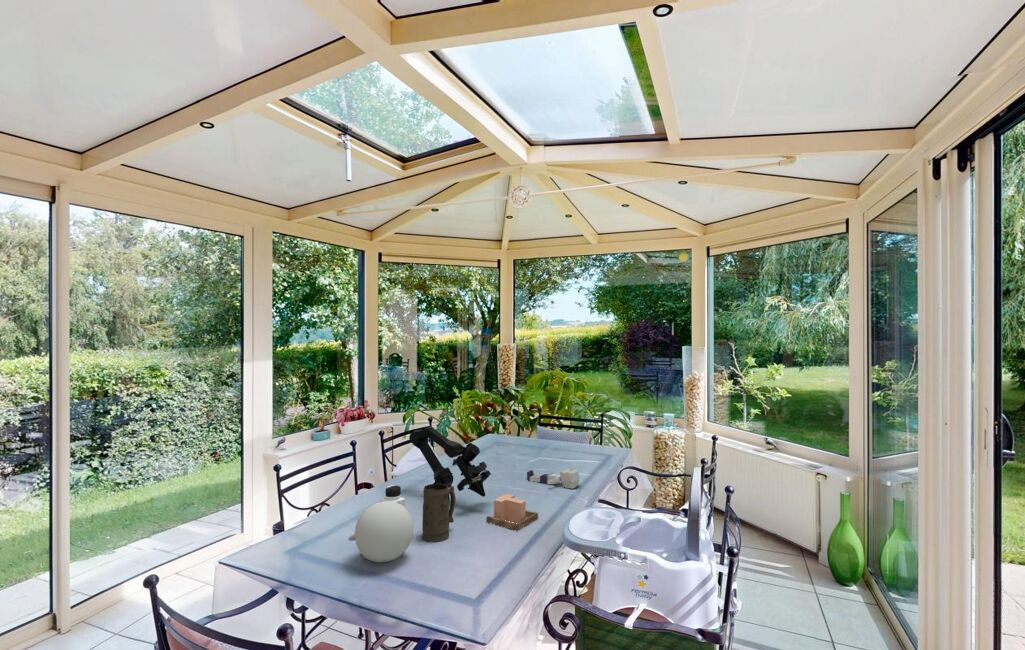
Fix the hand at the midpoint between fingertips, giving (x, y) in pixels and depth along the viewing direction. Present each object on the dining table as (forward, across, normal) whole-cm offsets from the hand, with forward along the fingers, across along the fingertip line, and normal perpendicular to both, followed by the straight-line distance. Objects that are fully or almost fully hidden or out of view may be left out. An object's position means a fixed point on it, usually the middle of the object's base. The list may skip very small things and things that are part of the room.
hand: (484, 496), depth 208 cm
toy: (+9, +55, +3) cm, 56 cm away
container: (-16, -26, +28) cm, 41 cm away
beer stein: (+5, -28, +6) cm, 29 cm away
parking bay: (+16, 0, -6) cm, 17 cm away
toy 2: (+4, -55, +7) cm, 56 cm away
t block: (+16, 0, -5) cm, 17 cm away
